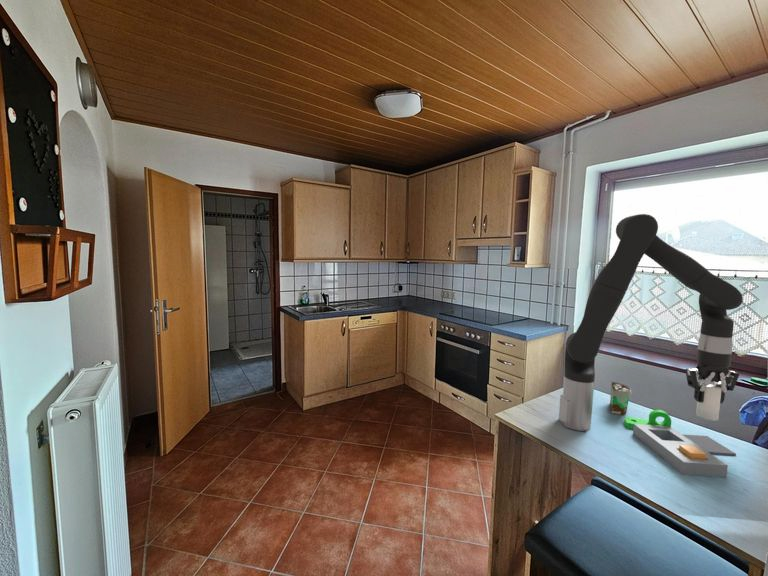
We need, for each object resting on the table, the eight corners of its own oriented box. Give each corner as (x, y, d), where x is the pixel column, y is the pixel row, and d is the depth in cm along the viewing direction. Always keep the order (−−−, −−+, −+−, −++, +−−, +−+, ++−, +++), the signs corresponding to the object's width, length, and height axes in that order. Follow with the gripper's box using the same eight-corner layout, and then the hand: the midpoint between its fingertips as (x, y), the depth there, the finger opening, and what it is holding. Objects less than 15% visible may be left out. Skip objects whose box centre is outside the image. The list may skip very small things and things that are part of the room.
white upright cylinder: (705, 420, 102) (708, 389, 101) (691, 412, 107) (695, 382, 106) (722, 421, 101) (726, 389, 100) (708, 413, 106) (711, 383, 105)
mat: (700, 453, 101) (700, 451, 101) (674, 435, 110) (674, 433, 110) (735, 455, 100) (736, 453, 100) (706, 437, 110) (707, 435, 109)
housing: (682, 474, 90) (684, 462, 90) (632, 433, 111) (633, 423, 111) (726, 477, 89) (727, 465, 89) (667, 435, 110) (668, 425, 110)
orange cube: (689, 468, 93) (690, 453, 92) (677, 459, 97) (679, 444, 96) (704, 469, 92) (706, 454, 92) (692, 460, 96) (694, 446, 96)
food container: (631, 420, 120) (634, 394, 119) (611, 416, 124) (613, 390, 123) (628, 408, 131) (630, 383, 130) (609, 404, 134) (611, 380, 133)
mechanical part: (664, 428, 115) (666, 407, 115) (669, 437, 110) (672, 414, 109) (622, 420, 121) (624, 399, 120) (626, 428, 115) (628, 406, 115)
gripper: (699, 351, 99) (693, 406, 101) (751, 354, 98) (745, 408, 99) (679, 345, 107) (674, 395, 108) (728, 347, 105) (722, 398, 107)
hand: (708, 401), depth 104 cm, fingers closed on white upright cylinder, 5 cm apart
